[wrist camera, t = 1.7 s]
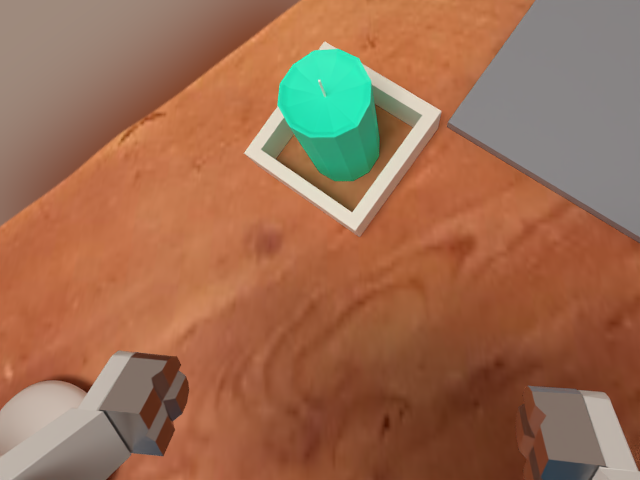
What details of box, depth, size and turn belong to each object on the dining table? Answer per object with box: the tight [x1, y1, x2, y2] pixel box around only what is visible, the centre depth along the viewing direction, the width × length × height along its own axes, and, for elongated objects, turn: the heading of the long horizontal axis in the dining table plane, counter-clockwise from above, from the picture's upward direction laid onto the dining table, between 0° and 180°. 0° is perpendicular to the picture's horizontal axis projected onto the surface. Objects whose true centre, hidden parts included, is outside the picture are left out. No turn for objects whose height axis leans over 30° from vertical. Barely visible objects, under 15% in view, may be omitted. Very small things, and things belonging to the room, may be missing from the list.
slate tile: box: [447, 0, 640, 243], centre depth 34 cm, size 18×18×1 cm
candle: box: [278, 49, 380, 181], centre depth 32 cm, size 6×6×12 cm
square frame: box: [244, 41, 441, 237], centre depth 36 cm, size 11×11×4 cm
